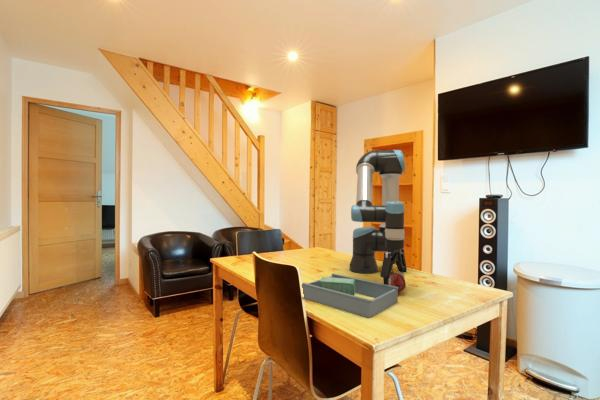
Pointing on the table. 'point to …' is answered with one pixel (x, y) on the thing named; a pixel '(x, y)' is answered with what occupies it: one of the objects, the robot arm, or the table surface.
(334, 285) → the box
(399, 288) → the fruit
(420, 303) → the table surface
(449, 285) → the table surface
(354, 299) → the tray
